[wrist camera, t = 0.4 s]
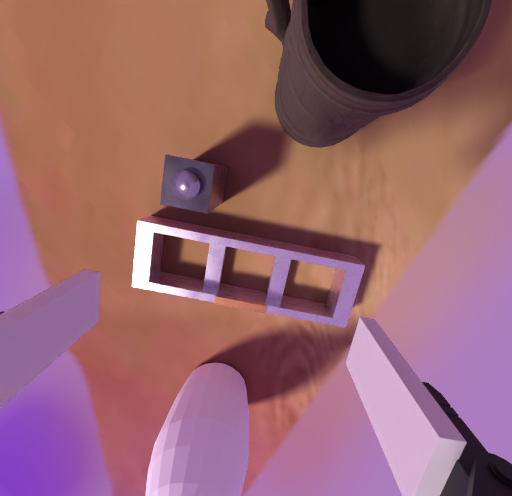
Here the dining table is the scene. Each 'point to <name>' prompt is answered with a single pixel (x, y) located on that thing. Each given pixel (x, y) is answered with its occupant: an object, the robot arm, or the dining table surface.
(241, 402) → the bottle
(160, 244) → the frame with square openings
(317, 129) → the beer stein
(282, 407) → the dining table surface
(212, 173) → the square peg with dome
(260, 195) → the dining table surface
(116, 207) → the dining table surface
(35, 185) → the dining table surface
